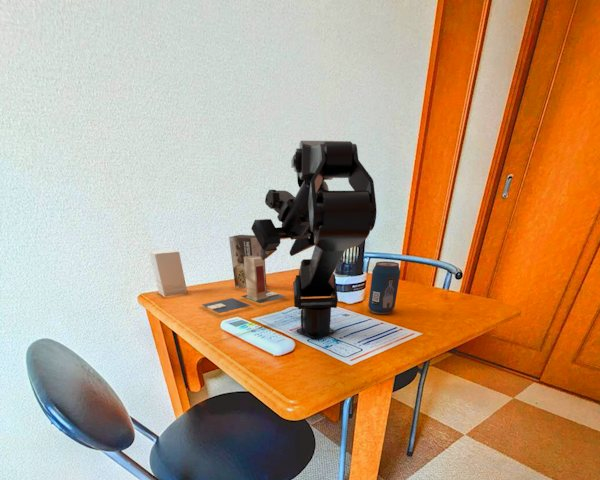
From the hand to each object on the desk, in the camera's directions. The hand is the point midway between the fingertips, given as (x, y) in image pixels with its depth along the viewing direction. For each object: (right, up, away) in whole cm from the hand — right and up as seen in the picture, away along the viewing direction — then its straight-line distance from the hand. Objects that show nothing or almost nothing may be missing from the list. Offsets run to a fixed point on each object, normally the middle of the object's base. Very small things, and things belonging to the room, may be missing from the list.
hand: (276, 256), depth 79 cm
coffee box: (-11, +1, +26) cm, 28 cm away
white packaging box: (-35, -3, +21) cm, 41 cm away
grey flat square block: (-5, -6, +16) cm, 17 cm away
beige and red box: (-7, -6, +13) cm, 16 cm away
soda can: (+28, -8, +2) cm, 29 cm away
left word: (-15, -11, +8) cm, 20 cm away
